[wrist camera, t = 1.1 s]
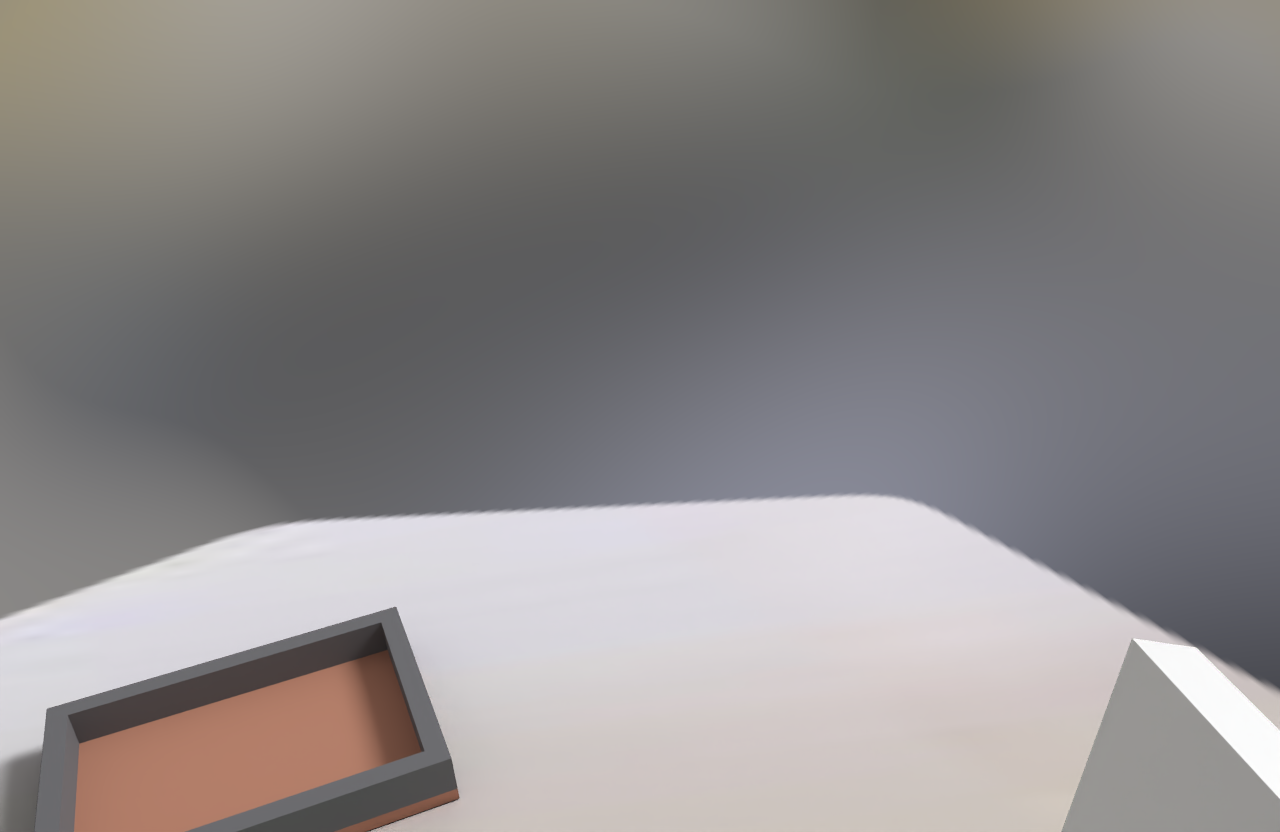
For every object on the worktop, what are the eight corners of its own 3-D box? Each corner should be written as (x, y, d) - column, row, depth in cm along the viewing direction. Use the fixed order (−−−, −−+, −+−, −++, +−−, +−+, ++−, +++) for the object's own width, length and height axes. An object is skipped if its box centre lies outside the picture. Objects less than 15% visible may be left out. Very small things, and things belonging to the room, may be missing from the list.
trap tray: (459, 798, 41) (451, 758, 40) (47, 944, 36) (27, 902, 36) (404, 642, 49) (396, 606, 48) (62, 746, 45) (46, 709, 44)
